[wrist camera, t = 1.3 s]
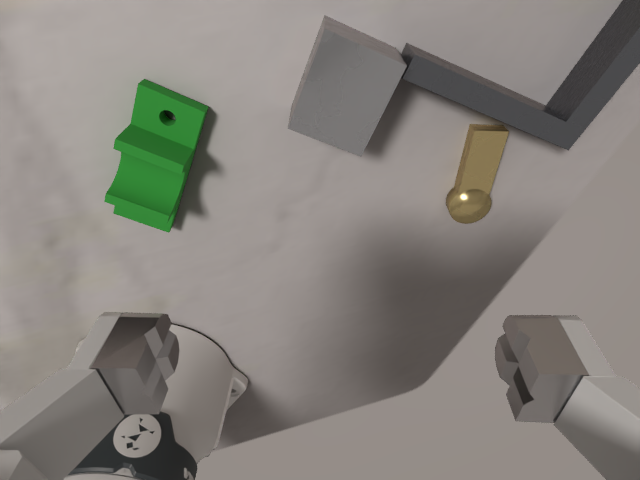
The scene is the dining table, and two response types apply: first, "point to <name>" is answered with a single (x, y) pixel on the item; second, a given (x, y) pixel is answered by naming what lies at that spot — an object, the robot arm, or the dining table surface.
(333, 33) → the block
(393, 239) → the dining table surface
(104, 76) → the dining table surface
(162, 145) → the pipe clamp
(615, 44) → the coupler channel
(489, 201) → the brass key
